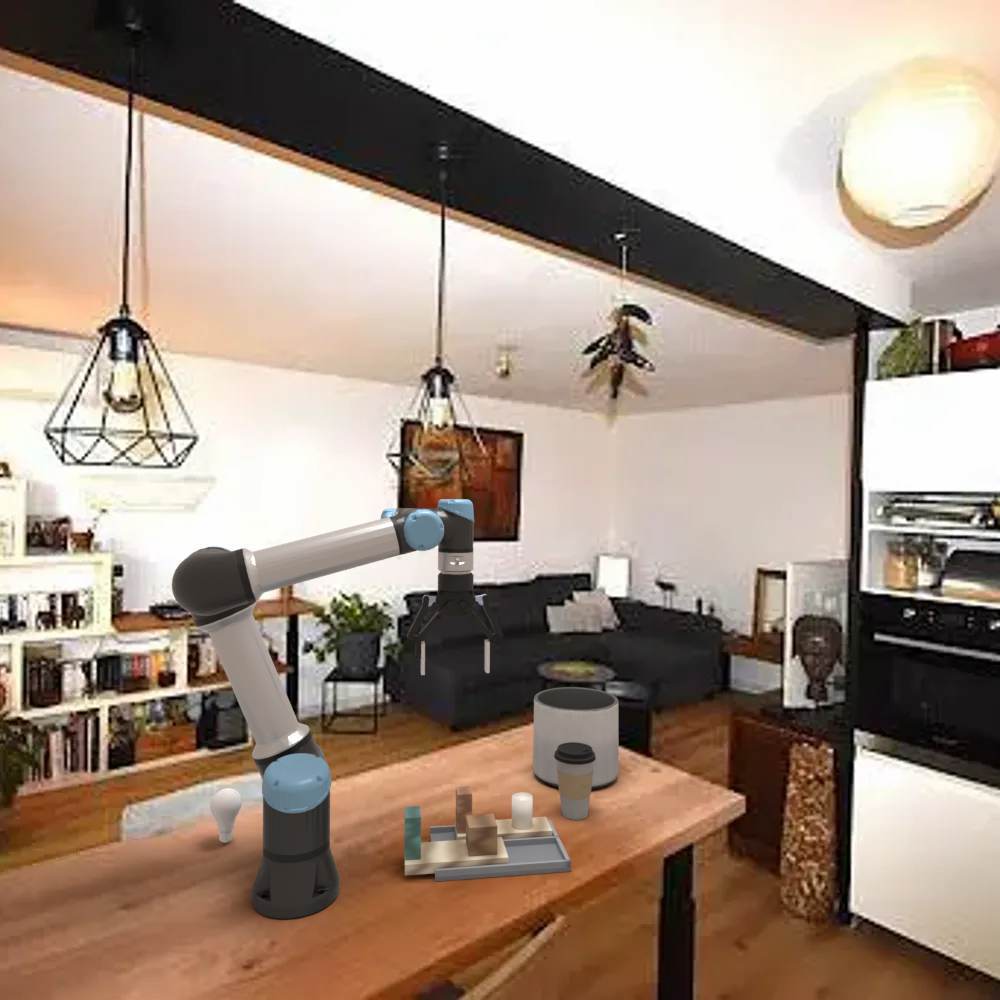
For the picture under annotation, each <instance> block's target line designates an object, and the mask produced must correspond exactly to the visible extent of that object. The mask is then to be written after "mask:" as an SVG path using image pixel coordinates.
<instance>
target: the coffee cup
mask: <svg viewBox="0 0 1000 1000" xmlns="http://www.w3.org/2000/svg"><path fill="white" fill-rule="evenodd" d="M554 758H555V759H556V760H557V775H558V786H559V787H558V794H559V797H560V799H559V800H560V808H561V815H562V816H563V817H564V818H566V819H569V820H572V821H573V820H574V821H579V820H584V819H586V818H587V817H588V816H589V815H588V814H589V809H590V807H589V805H590V800H591V799H590V797H591V794H592V789H591V787H592V778H593V762H594V761H595V759H596V757H595V753H594V752H593V750H592V747H591V746H589V745H587V744H583V743H577V742H569V743H563V744H560V745H559V746H558V748H557V750H556V751H555V755H554Z"/></svg>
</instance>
